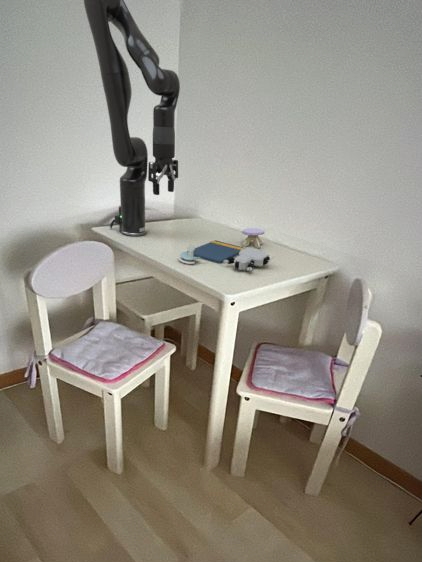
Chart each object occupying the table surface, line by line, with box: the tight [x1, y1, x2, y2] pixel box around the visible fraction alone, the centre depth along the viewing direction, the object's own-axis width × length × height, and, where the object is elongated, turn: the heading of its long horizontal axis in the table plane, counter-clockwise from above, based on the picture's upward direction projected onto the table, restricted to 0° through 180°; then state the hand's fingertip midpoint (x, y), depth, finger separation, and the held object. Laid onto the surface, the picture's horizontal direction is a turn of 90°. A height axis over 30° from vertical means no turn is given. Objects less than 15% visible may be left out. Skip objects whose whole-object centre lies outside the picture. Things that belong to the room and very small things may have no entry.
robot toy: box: [222, 246, 275, 272], centre depth 144 cm, size 12×4×15 cm
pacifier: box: [178, 242, 201, 265], centre depth 143 cm, size 7×6×6 cm
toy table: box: [241, 227, 266, 249], centre depth 166 cm, size 10×9×6 cm
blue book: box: [186, 240, 245, 264], centre depth 156 cm, size 14×20×1 cm
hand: (163, 193), depth 152 cm, fingers open, 8 cm apart
